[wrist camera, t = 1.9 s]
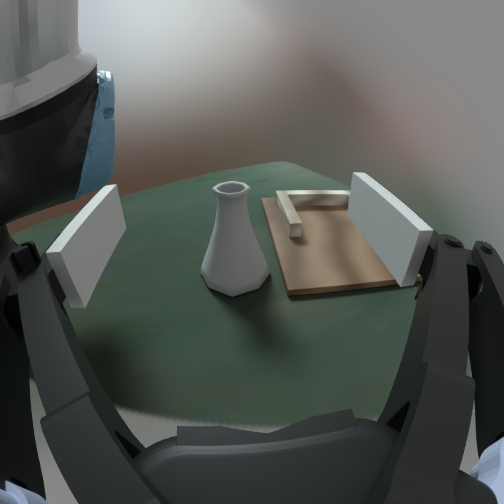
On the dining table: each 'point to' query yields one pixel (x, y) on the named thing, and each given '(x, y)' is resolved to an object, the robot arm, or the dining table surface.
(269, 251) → the dining table surface
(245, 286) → the flask
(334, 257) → the nook board
